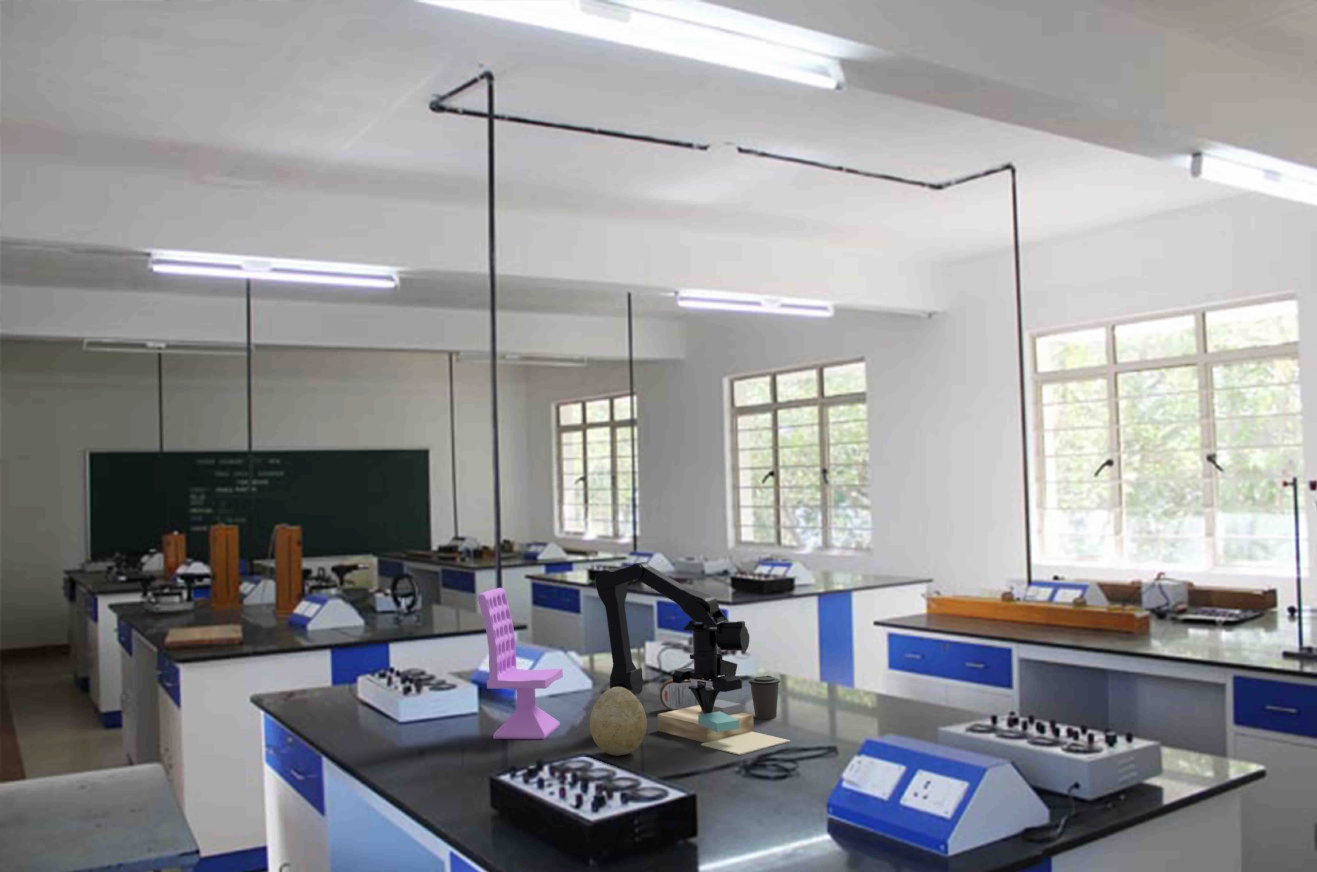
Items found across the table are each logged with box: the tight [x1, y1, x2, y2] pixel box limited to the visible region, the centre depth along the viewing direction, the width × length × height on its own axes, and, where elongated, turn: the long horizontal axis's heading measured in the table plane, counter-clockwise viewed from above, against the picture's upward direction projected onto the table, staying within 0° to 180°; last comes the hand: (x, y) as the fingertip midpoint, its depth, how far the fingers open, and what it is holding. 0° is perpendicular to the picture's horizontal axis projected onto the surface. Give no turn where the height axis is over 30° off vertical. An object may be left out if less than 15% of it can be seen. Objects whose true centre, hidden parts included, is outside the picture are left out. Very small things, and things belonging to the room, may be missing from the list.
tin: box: [659, 677, 699, 711], centre depth 275 cm, size 15×3×8 cm, turn 84°
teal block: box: [698, 711, 739, 732], centre depth 239 cm, size 6×8×2 cm
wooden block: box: [657, 705, 755, 743], centre depth 251 cm, size 15×18×4 cm
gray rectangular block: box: [701, 699, 743, 715], centre depth 253 cm, size 6×8×2 cm
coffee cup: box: [748, 675, 781, 720], centre depth 264 cm, size 8×8×10 cm
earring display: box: [476, 587, 563, 740], centre depth 257 cm, size 15×17×35 cm
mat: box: [700, 731, 791, 756], centre depth 238 cm, size 16×13×1 cm
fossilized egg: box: [589, 687, 648, 757], centre depth 232 cm, size 13×13×15 cm
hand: (708, 716), depth 243 cm, fingers closed
